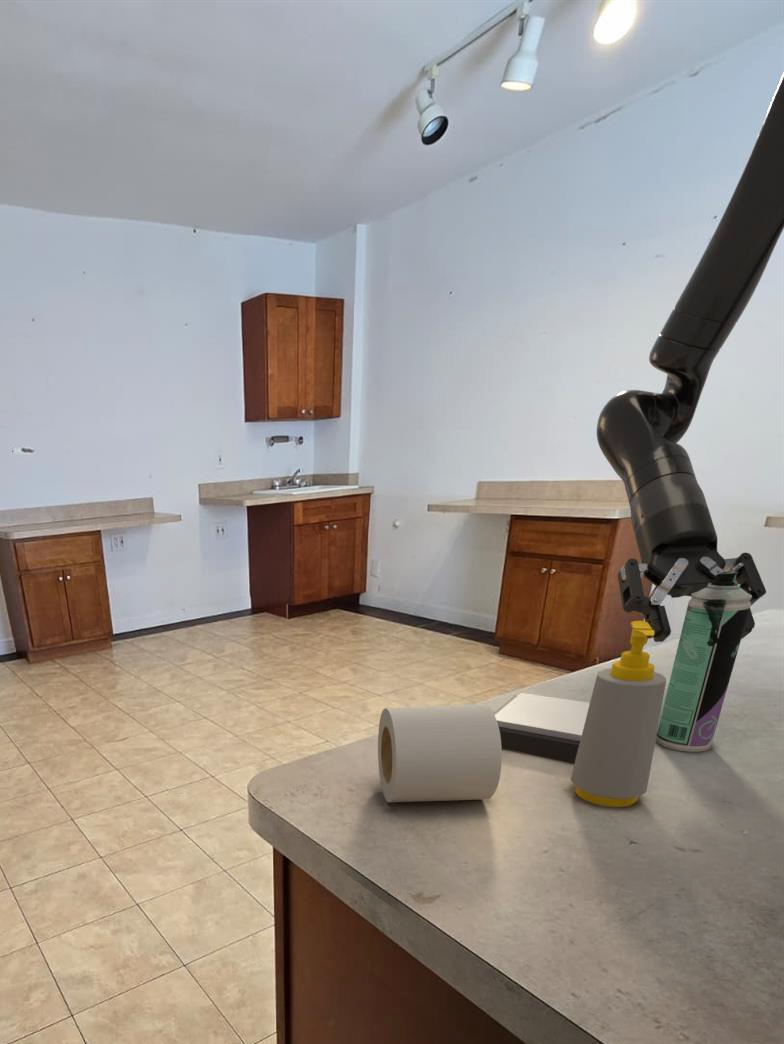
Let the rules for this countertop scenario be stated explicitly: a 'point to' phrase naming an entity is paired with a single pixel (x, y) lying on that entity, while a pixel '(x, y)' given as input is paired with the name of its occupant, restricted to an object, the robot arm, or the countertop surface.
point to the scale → (542, 726)
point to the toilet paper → (439, 753)
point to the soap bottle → (620, 728)
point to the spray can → (703, 664)
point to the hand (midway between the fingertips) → (703, 637)
